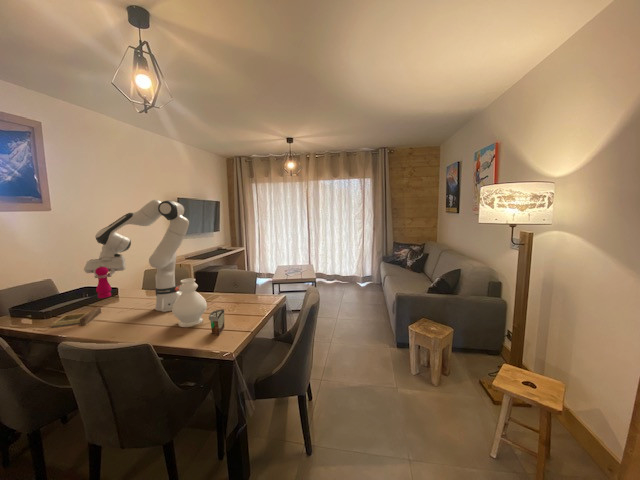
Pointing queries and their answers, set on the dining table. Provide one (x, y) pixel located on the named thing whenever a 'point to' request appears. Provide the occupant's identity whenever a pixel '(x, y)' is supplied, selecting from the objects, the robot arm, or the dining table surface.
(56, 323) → the index plate
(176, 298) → the robot arm
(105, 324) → the dining table surface
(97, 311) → the walnut sill
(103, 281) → the pepper mill
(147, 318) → the dining table surface
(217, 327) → the food container
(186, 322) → the decorative vase
